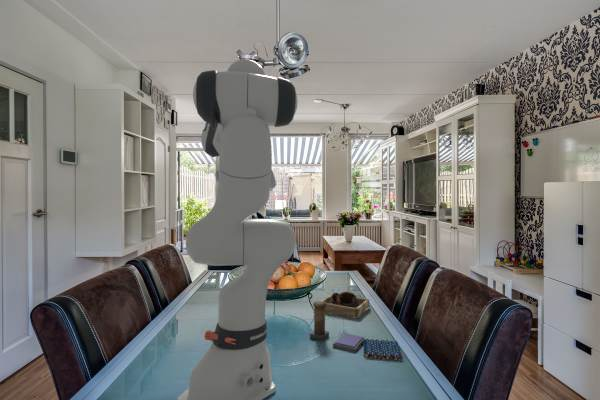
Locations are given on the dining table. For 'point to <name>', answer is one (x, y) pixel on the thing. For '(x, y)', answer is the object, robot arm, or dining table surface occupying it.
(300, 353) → the dining table surface
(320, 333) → the stamp
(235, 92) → the robot arm
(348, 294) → the pottery mug
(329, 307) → the wooden tray
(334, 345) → the pad
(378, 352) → the woven mat
